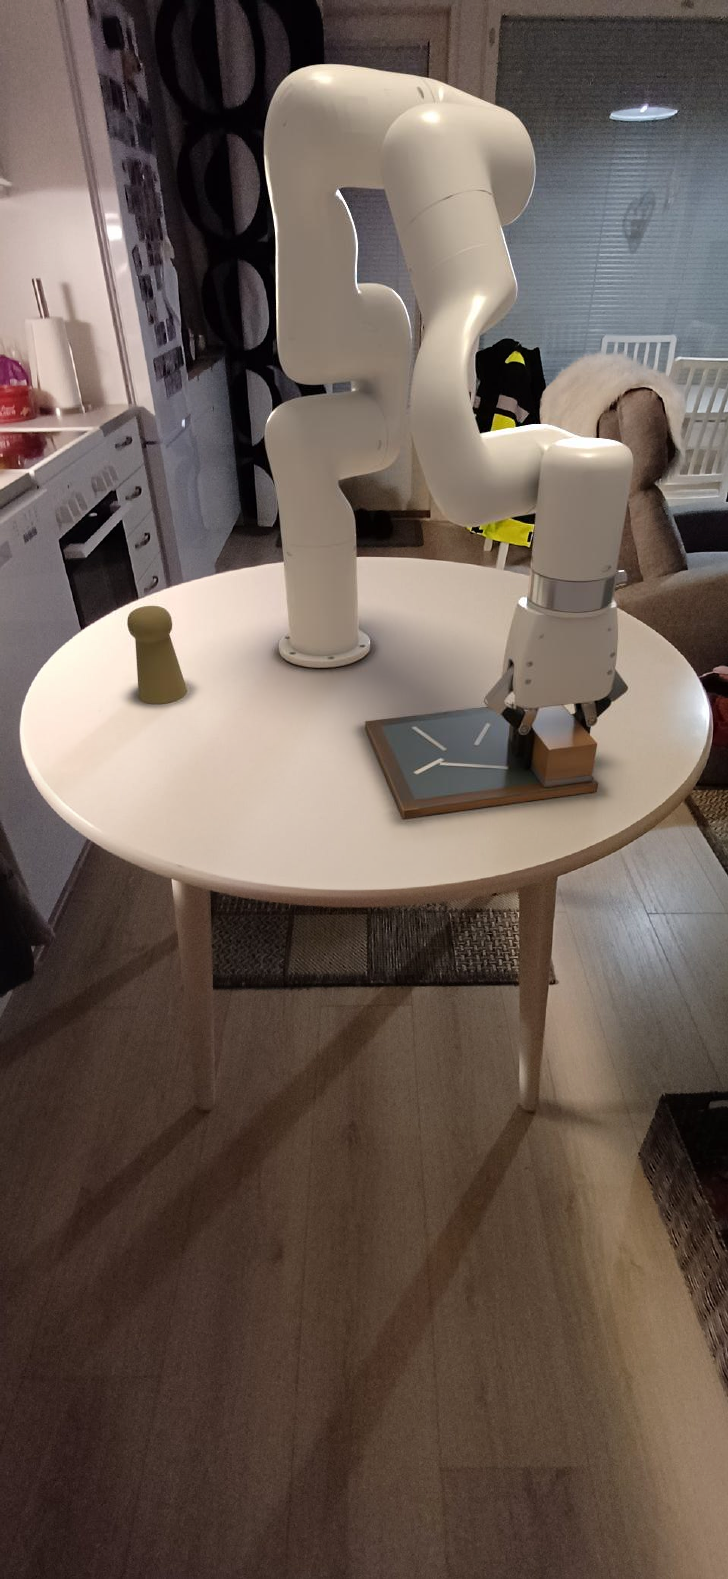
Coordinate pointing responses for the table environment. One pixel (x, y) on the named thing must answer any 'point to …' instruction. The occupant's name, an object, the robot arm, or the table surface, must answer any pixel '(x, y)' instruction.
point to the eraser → (560, 748)
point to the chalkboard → (456, 763)
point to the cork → (155, 656)
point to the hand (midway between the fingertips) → (548, 756)
